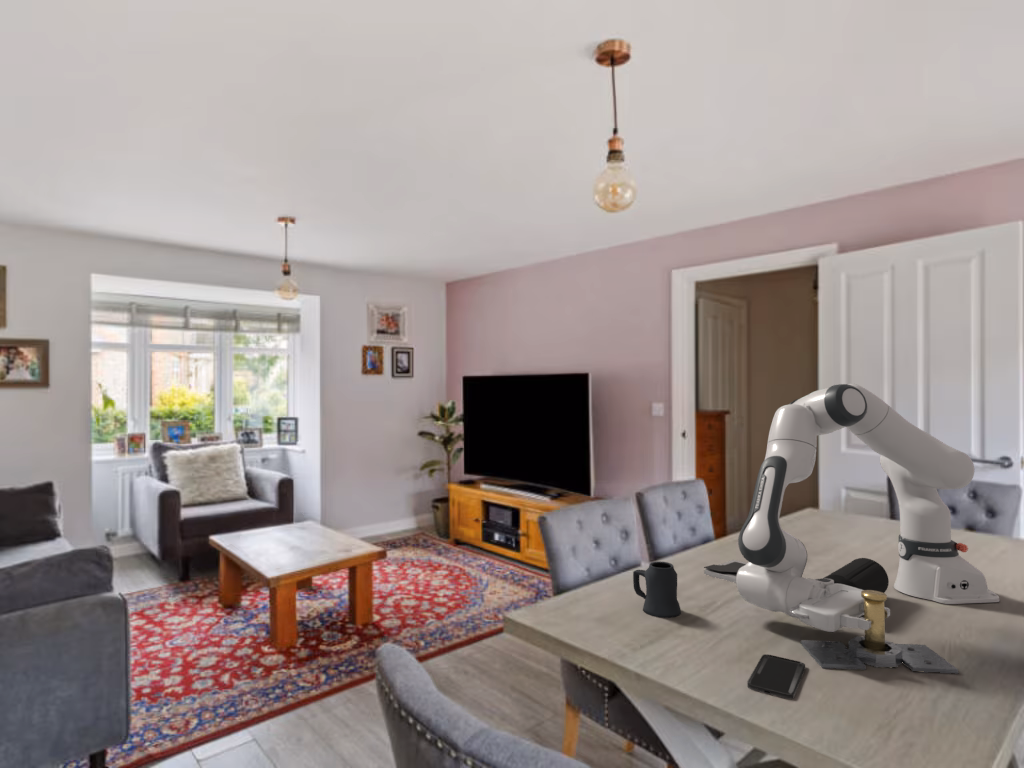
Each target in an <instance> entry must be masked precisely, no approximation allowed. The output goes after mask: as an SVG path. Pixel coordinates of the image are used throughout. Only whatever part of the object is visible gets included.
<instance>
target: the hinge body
mask: <svg viewBox="0 0 1024 768" xmlns="http://www.w3.org/2000/svg"><path fill="white" fill-rule="evenodd" d="M801 644H802V645H801ZM800 645H801V646H802V647H803V649H805V650H806V651H807V653H808V654H809V655H810V656H811V658H813V660H814V659H815V660H814V661H815V662H816V663H817V664H818V665H819V666H821V667H822V669H833V668H836V670H837V669H838V670H842V669H843V670H857V669H861V670H863V671H866V670H867V669H866V668H867V667H866V665H868V666H870V665H871V666H870V667H873V666H874V668H878V667H897V666H898V665H899V666H900V665H902V664H903V663H904V664H905V665H904V664H903V665H904V666H906V667H907V666H908V667H909V668H910V669H911V670H912V671H911V670H910V669H909V668H908V667H907V668H908V669H909V670H910V671H911V672H913V671H924V672H923V673H928V672H940V673H939V674H951V673H955V674H956V675H957V674H959V668H957V667H956V666H954V665H953V664H952V663H951V662H949V661H947V660H946V659H945V658H944V657H942V656H941V655H939V654H938V653H937V652H935V651H934V650H932V648H930V647H928V646H927V645H926V644H917V643H916V644H915V643H914V644H913V643H894V642H892V641H889V640H886V639H885V652H883V651H873V650H870V649H867V648H865V636H854V637H853V638H850V640H848V647H847V646H846V645H845V644H844V643H843V642H842V641H833V640H806V639H805V640H804V639H801V640H800ZM902 662H903V663H902ZM864 663H865V664H864ZM901 663H902V664H901ZM899 666H898V667H899ZM821 667H820V668H821ZM898 667H897V668H898ZM955 674H954V675H955Z"/></svg>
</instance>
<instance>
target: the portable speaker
mask: <svg viewBox="0 0 1024 768" xmlns="http://www.w3.org/2000/svg"><path fill="white" fill-rule="evenodd" d="M823 578H828V579H832V580H834V584H835V583H838V584H844V585H848V586H851V587H855V588H858V589H862V590H874V591H879V592H882V593H885V592H886V591H887V590H888V587H889V582H890V581H889V576H888V572H887V571H886V570H885V568H884V567H883V565H882V564H880V563H879V562H877V561H875V560H873V559H871V558H867V557H859V558H856V559H853V560H852V561H850V562H849V563H846V564H845V565H844V566H842V567H840V568H838V569H836V570H835V571H833V572H832V573H829V574H828V575H826V576H824V577H823Z"/></svg>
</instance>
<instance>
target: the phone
mask: <svg viewBox="0 0 1024 768" xmlns="http://www.w3.org/2000/svg"><path fill="white" fill-rule="evenodd" d="M805 671H806V663H804V662H802V661H799V660H795V659H790V658H785V657H783V656H782V657H781V656H777V655H772V654H765V653H764V654H762V655H761V656H760V658H759V660H758V662H757V664H756V666H755V667H754V669H753V670H752V672H751V674H750V676H749V678H748V679H747V682H746V683H747V684H746V685H747V688H748V689H749V690H751V691H755V692H759V693H763V694H767V695H770V696H774V697H778V698H781V699H786V700H792V699H794V698H795V696H796V693H797V691H798V688H799V685H800V683H801V681H802V679H803V675H804V674H805Z"/></svg>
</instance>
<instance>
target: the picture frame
mask: <svg viewBox="0 0 1024 768" xmlns="http://www.w3.org/2000/svg"><path fill="white" fill-rule="evenodd" d="M747 563H748V562H745V561H740V560H738V559H737V560H736V559H731V560H728V561H725V562H723V563H720V564H711V565H707V566H704V567H703V575H704V574H706V575H705V576H707V575H709V576H708V577H711V576H712V577H711V578H715V577H716V579H718V578H719V580H722V579H724V580H723V581H726V580H727V581H726V582H729V581H730V582H729V583H733V582H734V584H736V576H737V572H738V570H739V569H740V568H741V567H743V566H745V565H746V564H747Z"/></svg>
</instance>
